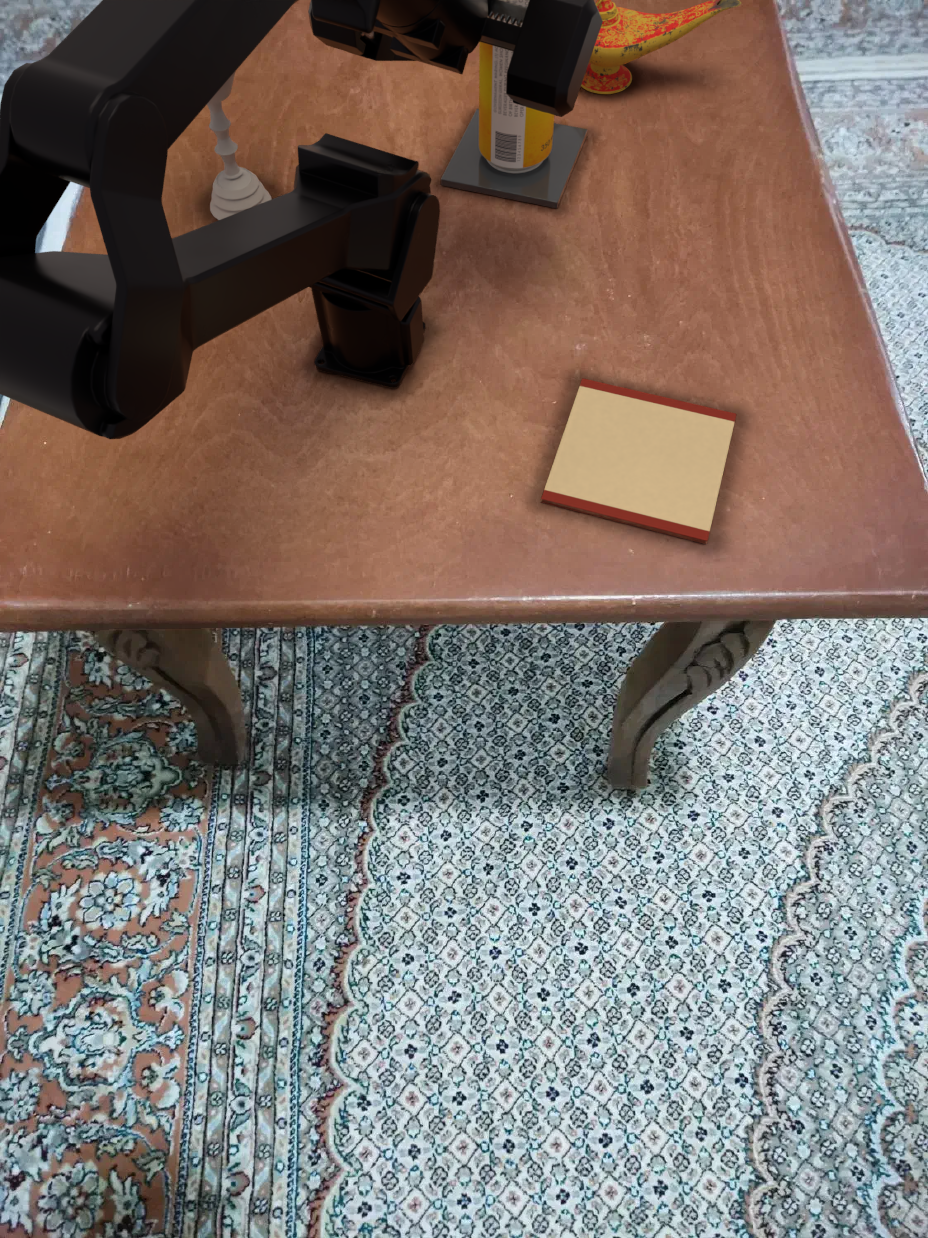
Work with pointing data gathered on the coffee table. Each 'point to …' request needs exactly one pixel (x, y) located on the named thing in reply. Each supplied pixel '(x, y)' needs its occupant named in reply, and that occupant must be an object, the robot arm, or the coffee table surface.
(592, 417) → the beige and red tile
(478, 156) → the coaster
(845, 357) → the coffee table surface
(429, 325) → the coffee table surface
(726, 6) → the magic lamp
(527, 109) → the beer can
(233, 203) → the chalice
